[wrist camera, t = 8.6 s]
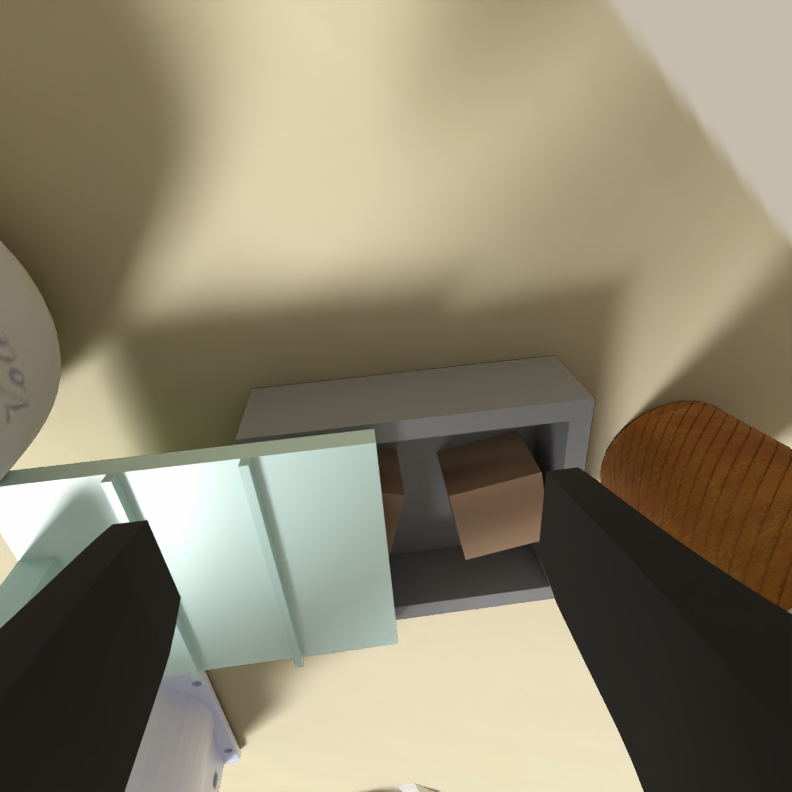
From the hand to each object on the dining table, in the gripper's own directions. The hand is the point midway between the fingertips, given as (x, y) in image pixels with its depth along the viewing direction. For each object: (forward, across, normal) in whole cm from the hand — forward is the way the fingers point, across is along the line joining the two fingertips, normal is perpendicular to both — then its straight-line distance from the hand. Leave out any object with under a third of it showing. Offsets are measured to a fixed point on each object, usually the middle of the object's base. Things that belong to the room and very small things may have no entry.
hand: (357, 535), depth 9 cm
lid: (+7, +5, +7) cm, 11 cm away
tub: (+10, -2, +7) cm, 13 cm away
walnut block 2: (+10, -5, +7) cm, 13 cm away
